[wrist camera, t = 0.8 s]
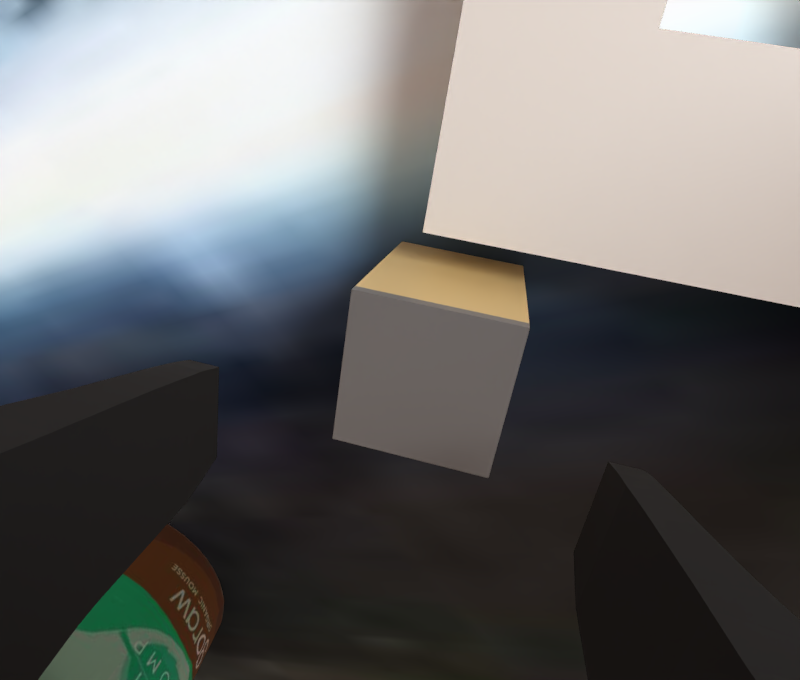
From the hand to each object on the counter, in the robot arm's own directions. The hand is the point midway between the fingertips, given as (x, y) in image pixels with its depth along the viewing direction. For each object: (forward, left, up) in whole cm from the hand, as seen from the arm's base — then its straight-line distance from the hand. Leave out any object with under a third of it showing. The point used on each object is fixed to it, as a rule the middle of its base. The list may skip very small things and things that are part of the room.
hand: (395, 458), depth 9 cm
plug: (0, 0, -9) cm, 9 cm away
